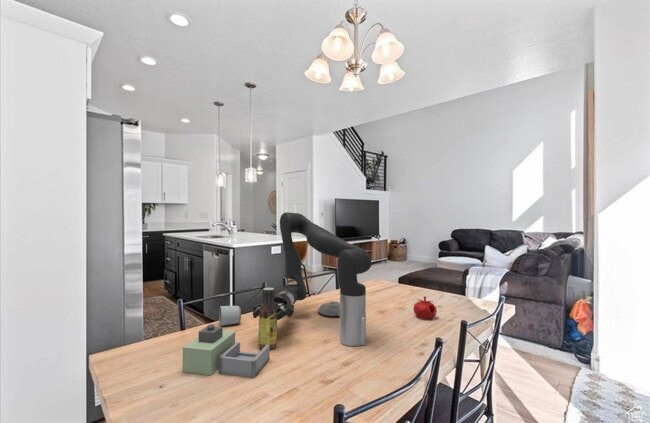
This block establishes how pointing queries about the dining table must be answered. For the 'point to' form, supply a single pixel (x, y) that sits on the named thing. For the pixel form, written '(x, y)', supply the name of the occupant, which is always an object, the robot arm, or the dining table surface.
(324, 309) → the flying saucer
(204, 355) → the knobbed green block
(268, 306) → the sauce bottle
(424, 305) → the red round fruit
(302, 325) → the dining table surface
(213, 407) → the dining table surface
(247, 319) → the dining table surface
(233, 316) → the white cylinder
